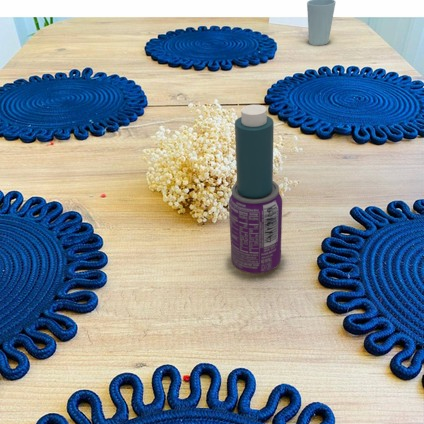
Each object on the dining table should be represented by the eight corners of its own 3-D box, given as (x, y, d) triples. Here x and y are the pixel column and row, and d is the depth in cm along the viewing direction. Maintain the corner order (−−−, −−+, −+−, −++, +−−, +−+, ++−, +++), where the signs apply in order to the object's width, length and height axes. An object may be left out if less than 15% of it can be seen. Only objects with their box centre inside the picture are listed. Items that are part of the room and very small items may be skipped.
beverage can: (282, 249, 79) (284, 176, 71) (278, 279, 74) (280, 204, 66) (235, 246, 80) (232, 174, 72) (228, 276, 75) (224, 202, 67)
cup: (307, 47, 149) (309, 6, 142) (303, 39, 155) (304, -1, 148) (334, 45, 149) (337, 4, 142) (328, 37, 155) (332, -3, 148)
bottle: (268, 178, 71) (268, 99, 64) (276, 195, 67) (277, 114, 60) (234, 182, 71) (231, 104, 64) (240, 200, 67) (238, 119, 60)
